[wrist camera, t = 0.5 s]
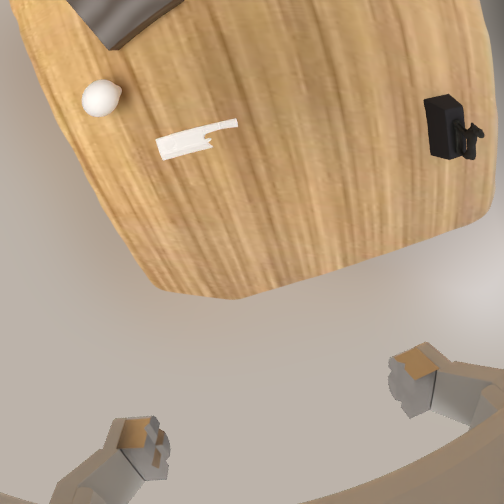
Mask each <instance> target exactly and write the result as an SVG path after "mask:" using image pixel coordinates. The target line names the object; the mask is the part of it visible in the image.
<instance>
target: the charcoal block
mask: <svg viewBox="0 0 504 504" xmlns="http://www.w3.org/2000/svg"><path fill="white" fill-rule="evenodd" d="M66 1H67V2H68V3H69V4H70V5H71V6H72V8H73V9H74V10H75V11H76V12H77V13H78V15H79V16H80V17H81V18H82V19H83V21H84V22H85V23H86V24H87V25H88V26H89V28H90V29H91V30H92V31H93V32H94V34H95V35H96V36H97V37H98V38H99V40H100V41H101V42H102V43H103V44H104V46H105V47H106V48H107V49H108V50H119V49H120V48H121V47H123V46H124V45H125V44H126V43H127V42H129V41H130V40H131V39H132V38H133V37H135V36H136V35H137V34H138V33H140V32H141V31H142V30H144V29H145V28H146V27H147V26H149V25H150V24H151V23H153V22H154V21H155V20H157V19H158V18H160V17H161V16H162V15H164V14H165V13H167V12H168V11H170V10H171V9H172V8H174V7H175V6H177V5H178V4H180V3H182V2H183V1H184V0H66Z"/></svg>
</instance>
